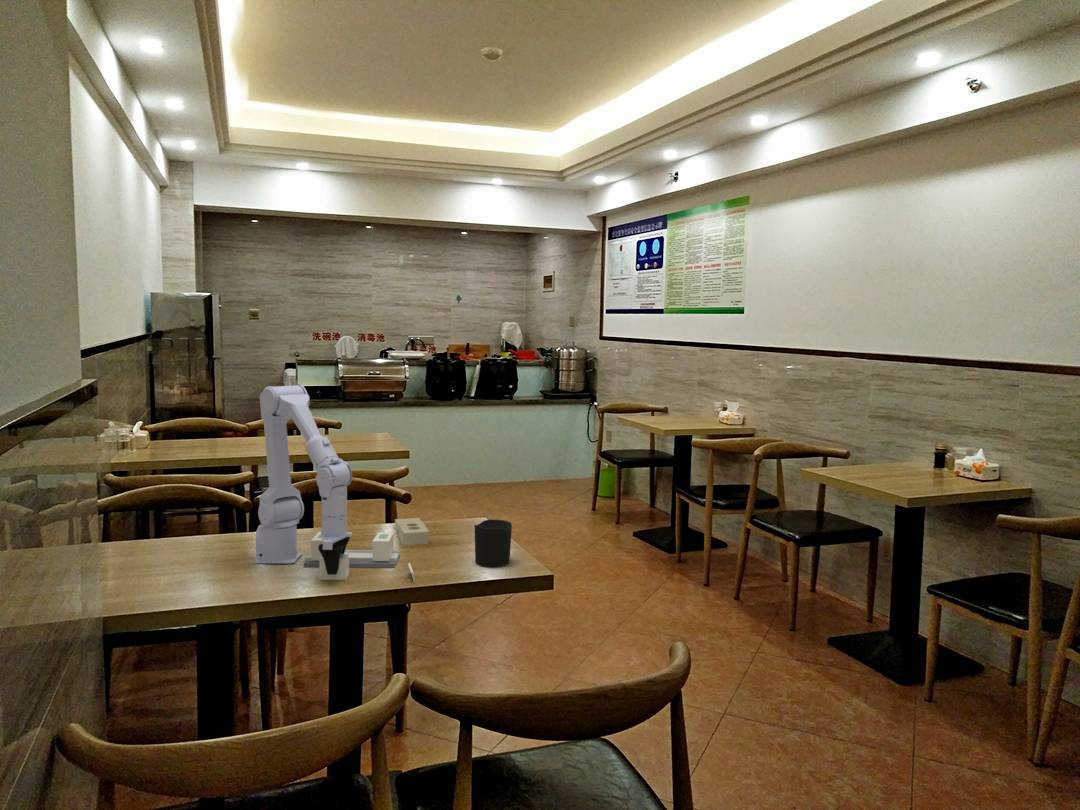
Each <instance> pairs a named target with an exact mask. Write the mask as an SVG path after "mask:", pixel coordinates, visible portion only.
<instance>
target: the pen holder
mask: <svg viewBox="0 0 1080 810" xmlns="http://www.w3.org/2000/svg"><path fill="white" fill-rule="evenodd" d="M512 527H513V525H512V523H511V522H510V521H507V520H503V519H485V520H483V521H481V522H480V523H478V524H474V554H475V558H474V559H475V560H474V561H475V563H476V564H477V565H478V566H480V567H484V568H501V567H505V566H508V564H509V563H510V559H511V547H512V546H511V542H512Z"/></svg>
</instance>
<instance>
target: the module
mask: <svg viewBox="0 0 1080 810" xmlns="http://www.w3.org/2000/svg"><path fill="white" fill-rule="evenodd" d="M318 568H319V580H320V581H332V580H333V581H346V580H347V578H348V577H349V576H350V568H349V554H341V556H340V560H339V567H338V572H337V574H336V575H328V574H327V571H326V566H325V562H324V559H323V557H322V556H321V557H320V559H319V567H318Z"/></svg>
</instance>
